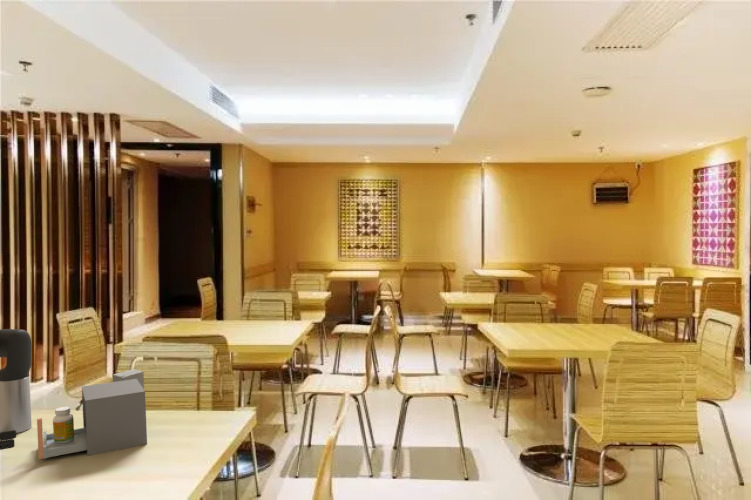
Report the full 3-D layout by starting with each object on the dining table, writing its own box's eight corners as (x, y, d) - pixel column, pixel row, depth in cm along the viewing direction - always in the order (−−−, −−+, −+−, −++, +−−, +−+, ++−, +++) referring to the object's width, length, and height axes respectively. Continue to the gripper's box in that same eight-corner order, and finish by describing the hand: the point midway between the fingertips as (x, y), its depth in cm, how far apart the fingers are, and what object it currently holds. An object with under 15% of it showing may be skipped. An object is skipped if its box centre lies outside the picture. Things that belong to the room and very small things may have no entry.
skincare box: (135, 412, 204) (133, 368, 203) (147, 415, 200) (145, 370, 199) (112, 418, 197) (110, 373, 196) (124, 422, 193) (122, 375, 192)
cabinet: (83, 437, 179) (81, 386, 179) (138, 427, 187) (136, 378, 187) (87, 455, 164) (85, 400, 163) (147, 443, 172) (144, 391, 171)
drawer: (39, 442, 172) (37, 406, 172) (99, 432, 180) (97, 396, 180) (38, 459, 159) (36, 419, 159) (103, 447, 167) (102, 409, 167)
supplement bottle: (68, 443, 168) (66, 411, 168) (49, 444, 168) (48, 411, 168) (77, 437, 174) (76, 405, 173) (60, 437, 174) (58, 406, 173)
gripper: (-63, 444, 144) (13, 432, 152) (-54, 428, 157) (16, 418, 165) (-62, 473, 144) (14, 460, 152) (-53, 455, 157) (17, 443, 165)
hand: (15, 438), depth 158 cm, fingers open, 8 cm apart
